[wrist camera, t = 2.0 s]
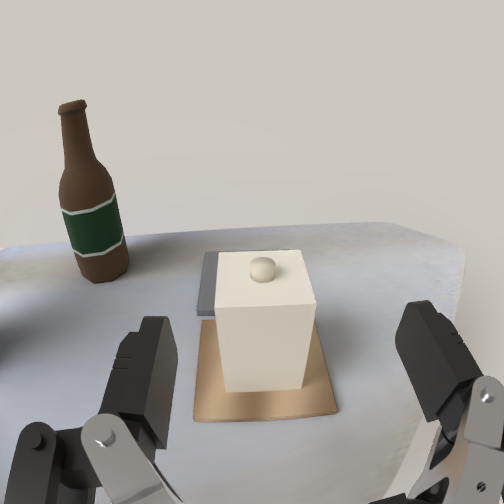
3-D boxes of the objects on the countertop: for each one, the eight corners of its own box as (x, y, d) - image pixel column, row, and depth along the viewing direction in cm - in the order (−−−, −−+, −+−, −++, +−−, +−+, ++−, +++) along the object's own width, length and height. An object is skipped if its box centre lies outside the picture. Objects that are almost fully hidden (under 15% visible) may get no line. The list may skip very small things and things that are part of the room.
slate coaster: (197, 315, 34) (196, 310, 34) (205, 256, 45) (205, 252, 44) (304, 311, 35) (304, 306, 34) (289, 254, 45) (290, 249, 45)
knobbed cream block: (225, 392, 25) (212, 295, 19) (226, 337, 31) (218, 241, 25) (301, 388, 25) (318, 291, 19) (291, 335, 31) (301, 239, 25)
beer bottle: (140, 256, 45) (113, 92, 32) (115, 288, 38) (74, 101, 26) (99, 252, 46) (69, 102, 33) (72, 281, 40) (29, 114, 27)
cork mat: (194, 421, 23) (192, 418, 23) (202, 323, 33) (202, 319, 33) (335, 413, 24) (336, 410, 23) (312, 319, 34) (313, 315, 33)
